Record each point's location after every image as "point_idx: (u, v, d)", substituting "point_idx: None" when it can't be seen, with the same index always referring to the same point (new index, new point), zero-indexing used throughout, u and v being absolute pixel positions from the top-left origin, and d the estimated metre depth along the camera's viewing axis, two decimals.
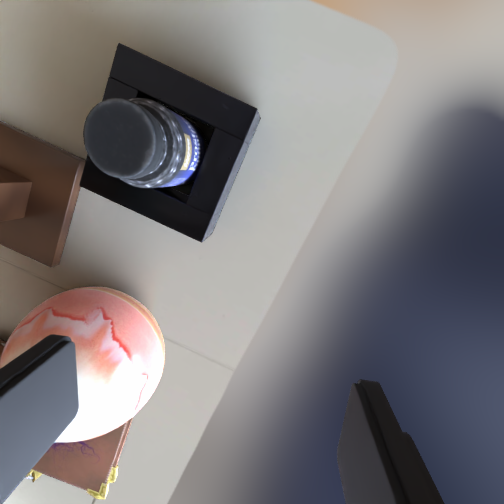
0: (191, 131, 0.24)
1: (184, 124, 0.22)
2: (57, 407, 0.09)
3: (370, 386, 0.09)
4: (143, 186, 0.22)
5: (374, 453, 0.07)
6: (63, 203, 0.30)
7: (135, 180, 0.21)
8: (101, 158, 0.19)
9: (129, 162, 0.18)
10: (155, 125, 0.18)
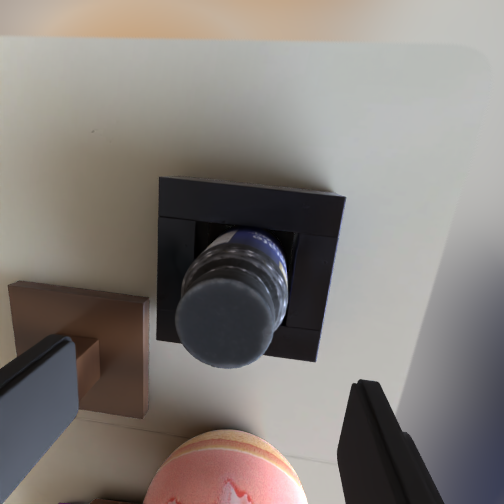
0: (274, 249, 0.19)
1: (270, 250, 0.18)
2: (57, 407, 0.09)
3: (370, 386, 0.09)
4: None
5: (374, 453, 0.07)
6: (137, 352, 0.26)
7: None
8: (206, 352, 0.14)
9: (244, 348, 0.14)
10: (263, 293, 0.14)
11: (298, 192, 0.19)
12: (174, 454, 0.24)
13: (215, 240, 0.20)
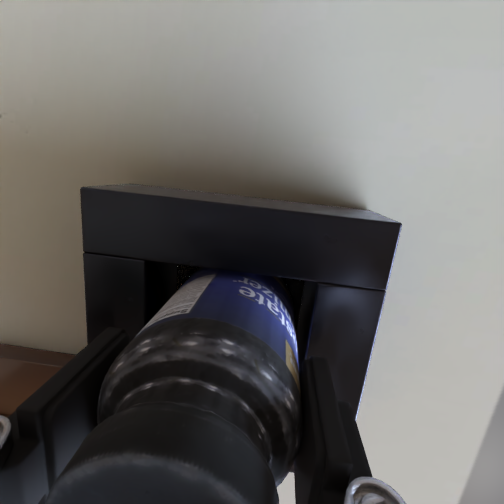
0: (277, 313, 0.11)
1: (268, 321, 0.10)
2: None
3: (317, 361, 0.10)
4: None
5: (310, 414, 0.08)
6: None
7: None
8: None
9: None
10: (251, 475, 0.06)
11: (317, 214, 0.11)
12: None
13: (177, 294, 0.12)
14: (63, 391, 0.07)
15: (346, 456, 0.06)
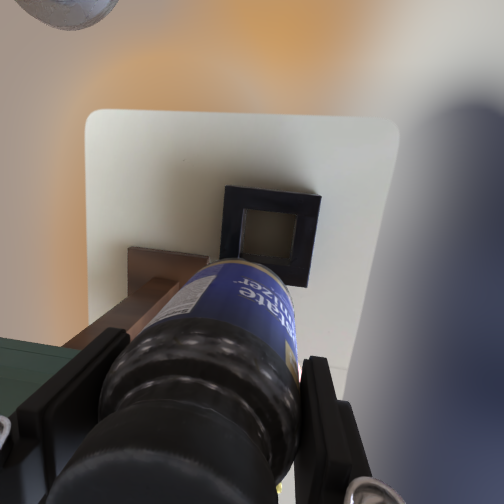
0: (276, 314, 0.11)
1: (268, 321, 0.10)
2: None
3: (317, 361, 0.10)
4: None
5: (310, 414, 0.08)
6: None
7: None
8: None
9: None
10: (250, 471, 0.06)
11: (297, 193, 0.37)
12: None
13: (177, 294, 0.12)
14: (63, 391, 0.07)
15: (346, 456, 0.06)
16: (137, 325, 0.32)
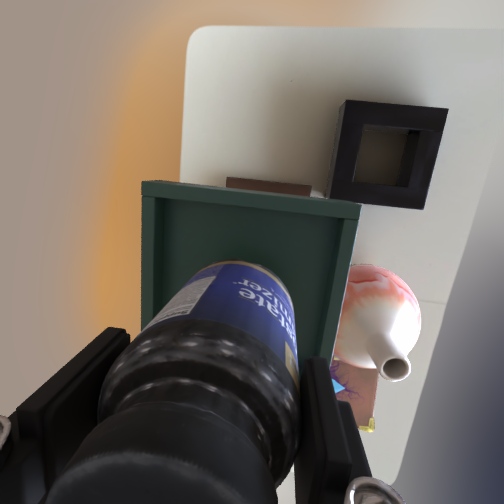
0: (276, 315, 0.11)
1: (268, 323, 0.10)
2: None
3: (317, 361, 0.10)
4: None
5: (310, 414, 0.08)
6: None
7: None
8: None
9: None
10: (250, 475, 0.06)
11: (422, 106, 0.35)
12: None
13: (177, 295, 0.12)
14: (63, 391, 0.07)
15: (346, 456, 0.06)
16: None
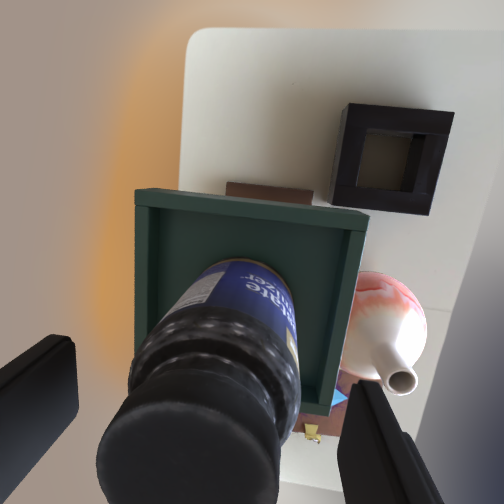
0: (279, 305, 0.13)
1: (271, 311, 0.11)
2: (57, 407, 0.09)
3: (370, 386, 0.09)
4: None
5: (374, 453, 0.07)
6: None
7: None
8: None
9: None
10: (259, 423, 0.07)
11: (427, 110, 0.34)
12: None
13: (191, 288, 0.13)
14: None
15: None
16: None
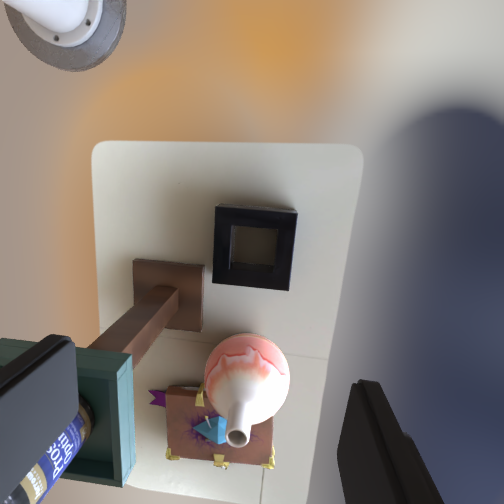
0: None
1: None
2: (57, 407, 0.09)
3: (370, 386, 0.09)
4: None
5: (374, 453, 0.07)
6: (199, 293, 0.50)
7: None
8: None
9: None
10: None
11: (277, 211, 0.43)
12: (220, 342, 0.48)
13: None
14: None
15: None
16: (145, 328, 0.38)
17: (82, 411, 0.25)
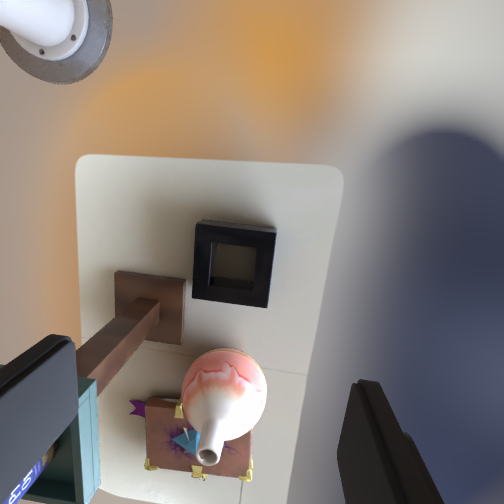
0: None
1: None
2: (57, 407, 0.09)
3: (370, 386, 0.09)
4: None
5: (374, 453, 0.07)
6: (179, 307, 0.51)
7: None
8: None
9: None
10: None
11: (256, 230, 0.43)
12: (199, 357, 0.49)
13: None
14: None
15: None
16: (120, 345, 0.38)
17: None
